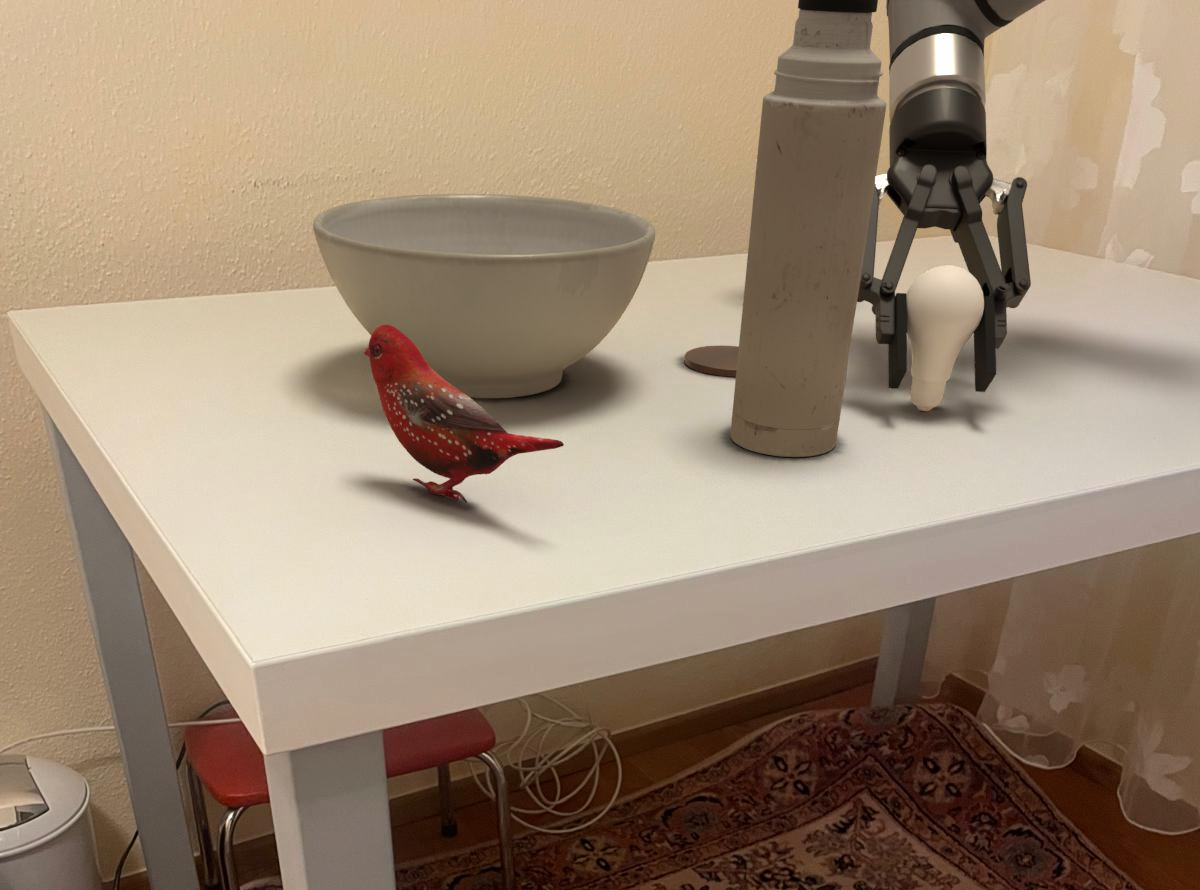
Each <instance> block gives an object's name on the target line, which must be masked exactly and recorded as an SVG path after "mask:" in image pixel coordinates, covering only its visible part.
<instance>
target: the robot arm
mask: <svg viewBox="0 0 1200 890" xmlns="http://www.w3.org/2000/svg"><path fill="white" fill-rule="evenodd" d="M1045 1H1046V0H886V4H885V8H886V17H887V22H888V41H889V42H888V46H889V47H888V48H889V66H888V70H889V73H888V75H889V87H888V88H889V89H888V91H889V93H888V94H889V95H888V97H889V101H888V102H889V103H888V105H889V107H888V110H889V111H888V113H889V114H888V116H889V131H888V135H889V140H888V141H889V168H888V169H887V171H886V173H884V174H879V175H876V179H875V186H874V193H873V199H872V206H871V213H870V219H869V226H868V233H867V239H866V246H865V253H864V259H863V266H862V273H861V280H860V286H859V293H858V299H857V303H862V302H867V303H869V304H871V312H872V314H873V315H874V316H875V317H874V318H875V320H874V321H875V340H876V343H877V344H878V345H887V362H888V365H887V366H888V368H887V369H888V370H887V371H888V373H887V375H888V376H887V377H888V389H891V390H892V389H894V390H899V389H900V386H901V384H902V382H903V380H904V378H905V376H906V374H907V372H908V334H907V311H906V294H907V292H896V291H897V287H898V285H899V282H900V279H901V276H902V273H903V270H904V267H905V265H906V261H907V260H908V256H909V254H910V250H911V247H912V244H913V241H914V239H915V236H916V232H917V230H918V229H929V228H939V229H941V230H949V231H950V234H951V236H952V240H953V241H954V243H955V244H958V247H959V249H960V252H961V254H962V257H963V260H964V263H965V265H966V268H967V271H968V272H970V273H971V274H972V275H973V276H974V277H975V278H976V279H977V281H978V283H979V284H980V286H981V289H982V291H983V297H984V311H983V316H982V318H981V321H980V323H979V325H978V327H977V328H976V330H975V331H974V333H973V354H974V355H973V356H974V357H973V358H974V359H973V360H974V361H973V363H974V392H975V393H985V392H986V391H987V390H988V388H989V386H990V385H991V383H992V382H993V380H994V378H995V377H996V376H997V350H999V349H1000V347H1001V345H1002V344H1003V342H1004V341H1005V339H1006V337H1007V334H1008V326H1007V325H1008V319H1007V317H1008V316H1007V315H1008V313H1007V308H1009V309H1016V308H1018V307H1019V306H1020V304H1021V302H1022V301H1023V299H1024V297H1025V296H1026V295H1027V293H1028V291H1029V290H1030V288H1031V284H1032V281H1031V280H1032V279H1031V272H1030V264H1029V256H1028V254H1029V253H1028V245H1027V238H1026V237H1027V235H1026V227H1025V218H1024V211H1023V209H1024V208H1023V202H1024V199H1025V195H1026V191H1027V188H1028V181H1027V180H1026V179H1025V178H1024V177H1022V176H1018V177H1015V178H1013V180H1012V181H1011V182H1007V181H1004V180H1000V179H997V178H994V173H993V171H992V169H991V168H990V167H989V164H988V161H987V154H988V153H987V151H988V150H987V149H988V145H987V112H986V101H987V99H986V98H987V97H986V96H987V95H986V73H985V41H986V40H985V39H986V38H988V37H989V36H990V35H992V34H994V33H996V32H997V31H999V30H1000V29H1001V28H1004V27H1006V26H1008V25H1009V24H1011V23H1012V22H1013V21H1015V20H1016V19H1018V18H1019V17H1021V16H1023V15H1024V14H1025V13H1028V12H1029V11H1031V10H1032V9H1034V8H1035V7H1037V6H1038V5H1040V4H1042V3H1044V2H1045ZM885 194H886V195H887V196H888V198H889V199H890V200H891V201H892V202H893V204H894V205H895V207H896V208H897V209H898V210H899V211H900V213H901V214H902V215H903V217H902V220H901V223H900V226H899V229H898V230H897V231H898V232H897V235H896V238H895V241H894V243H893V246H892V249H891V252H890V255H889V258H888V261H887V264H886V267H885V269H884V272H883V275H882V278H881V279H880V278H878V277H876V276H875V263H876V252H877V251H876V249H877V239H878V238H877V237H878V223H879V207H880V206H881V204H882V201H883V198H884V195H885ZM986 197H987V198H989V199H990V201H991V204H992V205H991V206H992V212H993V214H994V215H996V216H997V219H996V232H997V241H998V242H997V244H998V251H999V252H998V253H999V261H1000V264H999V261H998V258H997V256H996V253H995V250H994V248H993V245H992V243H991V240H990V237H989V235H988V232H987V229H986V227H985V224H984V222H983V209H982V206H981V203H982V202H983V201H984V199H985V198H986Z"/></svg>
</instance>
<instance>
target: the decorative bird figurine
mask: <svg viewBox="0 0 1200 890" xmlns="http://www.w3.org/2000/svg"><path fill="white" fill-rule="evenodd" d="M363 354H364V355H365V356H367V357H368V359H369V363H370V369H371V374H372V378H373V380H374V382H375V385H376V389H377V392H378V395H379V398H380V404H381V406H382V410H383V412H384V415H385V418H386V420H387V422H388V424H389V427H390V428H391V430H392V432H393V433H394V436H395V437H396V439H397V440H398V442H399V443H400V444H401V446H402V447H403V448H404V449H405V451H406V452H407V453H408V454H409V455H410V456H411V458H412V459H414V460H415V461H416V463H418V464H419V465H421V466H423V468H425V469H427V470H428V471H430V472H432V473H433V474H435V475H438V476H441V477H443V478H447V479H448V480H446V481H444V482H442V483H437V482H435V481H431V480H430V481H428V482H425V481H423V480H421V479H420V478H415V477H414V478H413V479H412V481H414V482H417V483H418V484H420V485H421V486H423V487H425V488H426V490H427V492H429V493H431V494H432V495H437V496H444V497H446V498H450V499H452V500H453V501H456V502H459V501H460V499H461V500H462V501H463V502H464V503H468V500H467V498H466V497H465V496H464V494H462V493H461V492H460V491H458V490H456V489H454V487H456V486H458V485H461V484H462V483H463V482H464V481H465V480H466V479H468V478H469V477H471V476H476V475H490V474H491V473H493V472H494V471H496V470H498V468H500V467H501V466H502V465H503V464H504V463H505V462H506V461H507V460H509V459H510V458H513V457H514V456H517V455H520V454H526V453H527V454H528V453H535V452H540V451H546V450H552V449H553V450H555V449H558V448H562V447H564V446H565V444H564V442H563V441H562V440H559V439H552V438H545V437H540V436H537V437H536V436H532V435H531V436H530V435H523V434H515V433H509V432H507V431H506V429H504V427H503V426H502V425H501V424H500V423H499V422H498V421H497V420H496V419H495V418H494V417H493V416H492V415H491V413H489V412H488V411H487V410H486V409H485V408H483V407H482V406H481V405H480V404H478V403H477V402H476V401H475V400H474V399H473V398H472V397H468V396H467V395H466V394H464V393H463V392H461V391H460V390H458V389H457V388H455V387H454V386H452V385H451V384H450V383H448V382H447V381H446V380H444V379H443V378H442V377H441V376H440V375H438V374H437V373H436V372H435V371H434V370H433V369H432V368H431V367H430V366H429V365H428V363H427V362H426V360H425V359H424V357H423V356H422V354H421V353H420V351H419V350H418V348H417V347H416V345H415V344H414V343H413V342H412V341H411V340H410V339H409V338H408V337H407V336H406V335H404V334H403V333H402V332H401V331H400V330H398V329H397V328H395V327H393V326H391V325H381V326H379V327H377V328H376V329H375V330H374V332H373V333H372V335H370V338H369V341H368V347H367V348H366V349H365V351H364V353H363Z"/></svg>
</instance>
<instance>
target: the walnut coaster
mask: <svg viewBox="0 0 1200 890" xmlns="http://www.w3.org/2000/svg"><path fill="white" fill-rule="evenodd" d="M738 350H739V345H738V346H737V345H705V346H700V347H699V346H698V347H695V348H691V349H689V350H687V351H686V352H685V354H684V364H685V366H687V367H688V368H690V369H692V370H694V371H695V372H696V371H697V372H700V373H703V374H707V375H713V376H719V377H730V378H731V377H733V378H734V377H735V378H736V371H737V361H738Z"/></svg>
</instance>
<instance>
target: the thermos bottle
mask: <svg viewBox="0 0 1200 890" xmlns="http://www.w3.org/2000/svg"><path fill="white" fill-rule="evenodd" d="M797 3H798V4H797V9H799V10H798V17H797V19H796V21H795V23H794V31H793V40H792V45H791V46H790V47H789V48H787V49H786V50H785V51H784V52H782V53H781V54H779V56H778V57H777V65H776V69H775V70H774V71H773V74H774V75H775V84H774V88H773V89H774V90H773V91H771V92H769V93H767V94H766V93H765V95H764V96H763V97H762V106H761V116H760V125H759V138H758V148H757V155H756V167H755V177H754V186H753V196H752V197H753V198H752V207H751V217H750V218H751V219H750V227H749V228H750V229H749V239H748V248H747V258H746V270H745V280H744V289H743V300H742V310H741V311H742V312H741V321H740V331H739V339H738V347H739V350H738V361H737V371H736V377H735V383H734V393H733V401H732V402H733V403H732V412H731V413H732V414H731V423H730V432H729V433H730V434H729V435H730V438H731V439H730V440H731V441H733V443H735V444H736V445H738V446H739V447H741V448H743V449H745V450H748V451H750V452H751V451H752V452H754V453H758V454H763V455H768V456H775V457H785V458H805V457H814V456H818V455H819V456H820V455H824V454H825V453H829V452H830V451H832V450H833V449H834V448H835V447H836V445H837V440H838V434H839V433H838V432H839V425H840V420H841V412H842V406H843V399H844V392H845V385H846V379H847V372H848V366H849V358H850V352H851V351H850V350H851V343H852V336H853V329H854V323H855V316H856V311H857V305H858V302H857V299H858V293H859V286H860V280H861V273H862V266H863V259H864V253H865V246H866V239H867V233H868V226H869V219H870V213H871V206H872V199H873V193H874V186H875V179H876V176H877V171H878V167H879V166H878V165H879V158H880V151H881V145H882V137H883V131H884V127H885V126H884V125H885V120H886V112H887V101H885V100H884V99H882V98H880V97H879V96H878V93H879V86H880V85H879V84H880V77H883V75H884V73H883V71H881V69H882V60H881V58H879V57H878V55H876V54H875V53H874V51H872V49H871V43H872V36H873V26H874V25H873V22H872V17H873V13H877V10H878V4H879V0H798V2H797Z"/></svg>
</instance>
